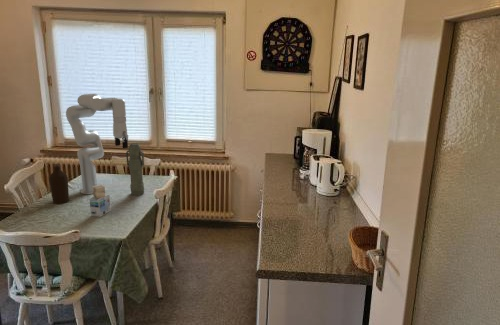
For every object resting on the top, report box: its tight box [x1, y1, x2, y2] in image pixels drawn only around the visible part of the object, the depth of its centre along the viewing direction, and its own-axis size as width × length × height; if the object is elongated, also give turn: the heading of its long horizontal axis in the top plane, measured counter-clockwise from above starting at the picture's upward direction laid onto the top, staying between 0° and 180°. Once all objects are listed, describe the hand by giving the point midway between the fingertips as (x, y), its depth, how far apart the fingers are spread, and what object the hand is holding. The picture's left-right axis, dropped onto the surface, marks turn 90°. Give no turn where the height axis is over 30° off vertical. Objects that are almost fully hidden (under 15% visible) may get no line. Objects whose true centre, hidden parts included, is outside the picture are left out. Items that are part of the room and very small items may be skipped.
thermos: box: [125, 142, 145, 196], centre depth 252 cm, size 9×12×35 cm
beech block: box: [92, 184, 106, 198], centre depth 219 cm, size 5×5×6 cm
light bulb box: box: [89, 193, 112, 218], centre depth 221 cm, size 11×7×11 cm, turn 168°
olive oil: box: [48, 163, 70, 205], centre depth 237 cm, size 11×11×25 cm
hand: (121, 146), depth 231 cm, fingers open, 9 cm apart
